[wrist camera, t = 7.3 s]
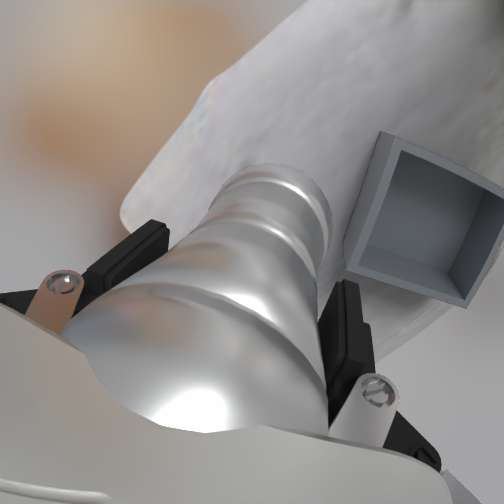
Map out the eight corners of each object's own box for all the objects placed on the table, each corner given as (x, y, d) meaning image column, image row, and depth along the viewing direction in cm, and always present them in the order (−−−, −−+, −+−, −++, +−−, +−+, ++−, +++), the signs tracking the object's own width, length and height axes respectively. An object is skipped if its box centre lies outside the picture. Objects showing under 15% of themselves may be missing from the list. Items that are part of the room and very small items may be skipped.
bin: (380, 130, 33) (394, 136, 26) (490, 181, 32) (520, 198, 25) (342, 240, 40) (345, 270, 33) (447, 276, 39) (466, 308, 32)
